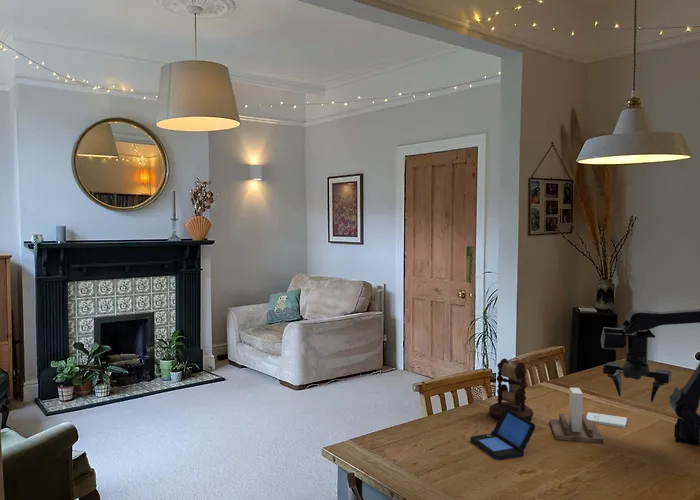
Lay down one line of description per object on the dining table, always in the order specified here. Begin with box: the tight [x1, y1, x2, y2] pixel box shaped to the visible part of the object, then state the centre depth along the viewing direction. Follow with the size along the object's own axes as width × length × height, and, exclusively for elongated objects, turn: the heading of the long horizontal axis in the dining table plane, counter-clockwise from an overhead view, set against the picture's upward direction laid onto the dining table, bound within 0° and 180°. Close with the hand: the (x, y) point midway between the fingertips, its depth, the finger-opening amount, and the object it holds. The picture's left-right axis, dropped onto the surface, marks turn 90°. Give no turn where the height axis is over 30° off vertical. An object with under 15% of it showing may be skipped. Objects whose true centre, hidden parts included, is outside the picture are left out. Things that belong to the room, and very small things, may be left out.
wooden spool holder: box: [488, 358, 534, 420], centre depth 198 cm, size 15×15×20 cm
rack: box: [549, 413, 604, 444], centre depth 184 cm, size 14×15×4 cm
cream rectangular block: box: [568, 387, 584, 432], centre depth 183 cm, size 3×6×12 cm, turn 167°
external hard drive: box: [585, 411, 628, 429], centre depth 194 cm, size 2×8×12 cm
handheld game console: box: [470, 409, 536, 461], centre depth 172 cm, size 16×13×9 cm
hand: (635, 399), depth 180 cm, fingers open, 9 cm apart
